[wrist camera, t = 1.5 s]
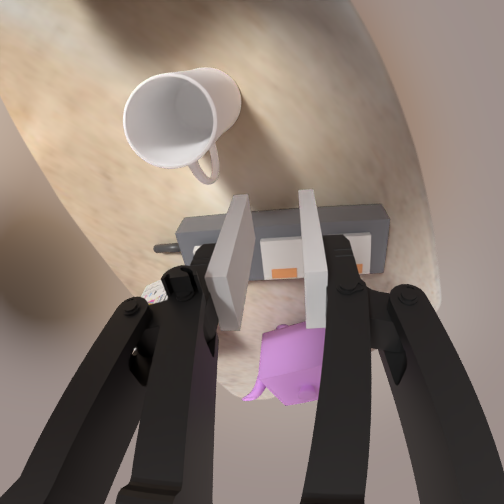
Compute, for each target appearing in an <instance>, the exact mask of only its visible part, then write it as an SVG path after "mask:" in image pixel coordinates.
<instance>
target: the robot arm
mask: <svg viewBox="0 0 504 504" xmlns="http://www.w3.org/2000/svg"><path fill="white" fill-rule="evenodd" d="M298 195H299V207H300V221H301V236H302V252H303V268H304V288H305V310H306V329H312V328H325V340H324V351H323V361H322V370H321V379H320V388H319V396H318V403H317V411H316V418H315V425H314V431H313V438H312V444H311V450H310V456H309V462H308V467H307V472H306V478H305V483H304V488H303V493H302V497H301V502H300V504H364V497H365V488H366V478H367V469H368V457H369V443H370V442H369V441H370V424H371V348H374V349H378V351H379V354H380V357H381V360H382V363H383V366H384V369H385V372H386V375H387V378H388V381H389V384H390V387H391V391H392V394H393V397H394V400H395V404H396V407H397V411H398V414H399V417H400V421H401V425H402V428H403V432H404V435H405V439H406V443H407V447H408V451H409V455H410V459H411V463H412V467H413V472H414V476H415V481H416V485H417V490H418V494H419V500H420V504H504V471H503V467H502V464H501V461H500V457H499V454H498V451H497V448H496V445H495V442H494V439H493V436H492V434H491V431H490V428H489V425H488V423H487V420H486V417H485V415H484V412H483V410H482V407H481V405H480V403H479V400H478V397H477V395H476V393H475V390H474V388H473V386H472V384H471V381H470V379H469V377H468V375H467V372H466V370H465V368H464V366H463V364H462V362H461V360H460V358H459V356H458V354H457V352H456V350H455V348H454V346H453V344H452V342H451V340H450V338H449V336H448V334H447V332H446V330H445V329H444V327H443V325H442V323H441V321H440V319H439V318H438V316H437V314H436V312H435V310H434V308H433V307H432V305H431V303H430V302H429V300H428V298H427V296H426V295H425V293H424V292H423V291H422V290H421V289H419V288H418V287H416V286H413V285H409V284H401V285H398V286H395V287H394V288H393V289H392V290H391V292H390V294H389V293H383V292H378V291H374V290H372V289H370V288H368V287H367V286H366V284H365V282H364V281H362V280H361V279H360V276H359V272H358V268H357V265H356V261H355V258H354V254H353V251H352V247H351V244H350V241H349V240H348V239H347V238H346V237H345V236H344V235H343V234H339V235H322V233H321V228H320V222H319V217H318V211H317V206H316V201H315V196H314V191H313V189H304V190H298ZM254 245H255V233H254V227H253V220H252V214H251V208H250V202H249V196H248V194H241V195H234V196H233V198H232V201H231V204H230V207H229V209H228V212H227V215H226V218H225V220H224V223H223V226H222V229H221V231H220V234H219V237H218V240H217V243H211V244H203V245H202V246H200V247H199V248H198V249H197V250H196V252H195V254H194V256H193V260H192V261H191V264H190V266H188V265H181V266H177V267H174V268H172V269H170V270H168V271H167V272H166V273H164V274H163V276H162V278H161V281H162V284H163V286H164V289H165V291H166V294H167V296H168V298H167V300H165V301H162V302H158V303H154V304H150V305H149V304H148V302H147V301H146V300H145V299H144V298H142V297H132V298H129V299H127V300H125V301H124V302H122V303H121V304H120V305H119V306H118V308H117V309H116V311H115V312H114V314H113V315H112V317H111V318H110V320H109V321H108V323H107V324H106V325H105V327H104V329H103V330H102V332H101V333H100V335H99V336H98V338H97V339H96V341H95V342H94V344H93V346H92V347H91V349H90V350H89V352H88V353H87V355H86V357H85V359H84V360H83V362H82V363H81V365H80V366H79V368H78V370H77V372H76V373H75V375H74V377H73V378H72V380H71V382H70V383H69V385H68V387H67V388H66V390H65V392H64V393H63V395H62V397H61V399H60V400H59V402H58V404H57V406H56V408H55V409H54V411H53V413H52V415H51V416H50V419H49V420H48V422H47V424H46V426H45V428H44V430H43V431H42V433H41V435H40V438H39V439H38V441H37V443H36V445H35V447H34V449H33V451H32V453H31V455H30V457H29V459H28V461H27V463H26V466H25V468H24V470H23V472H22V474H21V476H20V478H19V479H18V480H17V481H16V482H15V483H14V484H13V485H12V486H11V487H10V488H9V489H8V490H7V491H6V492H5V493H4V494H3V495H2V496H1V497H0V504H104V503H105V500H106V498H107V495H108V493H109V491H110V488H111V486H112V483H113V481H114V478H115V476H116V474H117V472H118V469H119V467H120V464H121V462H122V460H123V457H124V455H125V453H126V450H127V448H128V446H129V443H130V441H131V439H132V437H133V434H134V432H135V430H136V428H137V425H138V423H139V421H140V424H139V430H138V436H137V442H136V448H135V454H134V461H133V468H132V475H131V479H130V482H129V484H128V485H126V486H125V487H123V488H121V490H120V491H119V493H118V495H117V499H116V504H213V503H212V488H213V450H214V422H215V399H216V379H217V360H218V343H219V339H218V335H217V332H216V329H217V325H218V323H219V326H220V329H221V331H240V328H241V322H242V316H243V310H244V304H245V298H246V292H247V287H248V281H249V275H250V269H251V263H252V257H253V251H254ZM134 349H135V351H134V353H133V354H132V352H133V350H134Z"/></svg>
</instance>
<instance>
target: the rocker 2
mask: <svg viewBox="0 0 504 504" xmlns="http://www.w3.org/2000/svg"><path fill="white" fill-rule="evenodd" d="M329 235H339V234H329ZM343 235H344V236H345V237H346V238H347V239H348V240H349V241H350V244H351V247H352V251H353V254H354V258H355V261H356V265H357V268H358V272H359V274H370V258H371V234H370V232H364V233H346V234H343Z"/></svg>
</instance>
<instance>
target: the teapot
mask: <svg viewBox="0 0 504 504" xmlns="http://www.w3.org/2000/svg"><path fill="white" fill-rule="evenodd" d="M324 340H325V328H312V329H306V321H304V322H301V323H297V324H294V325H291V326H288V325H285V324H282V325H279V326H277V328H276V330H273V331H270V332H266V333H263V335H262V345H261V355H260V364H259V374H258V377H257V380H256V384H255V386H254V388H253V390H252V391H251V392H250V393H249V394H248V395H247V396H245V397H244V398H242V400H243V401H251V400H254V399H256V398H258V397H259V396H260V395H261V394H262V392H263V391H264V389H265V388H266V387H267V388H268V389H269V390H270V391H271V392H272V393H273V394H274V395H275V396H276V397H277V398H278V399H279V400H280V401H281V402H282V403H283V404H284V405H285V406H287V405H293V404H299V403H304V402H309V401H314V400H318V396H319V388H320V379H321V370H322V361H323V351H324Z"/></svg>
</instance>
